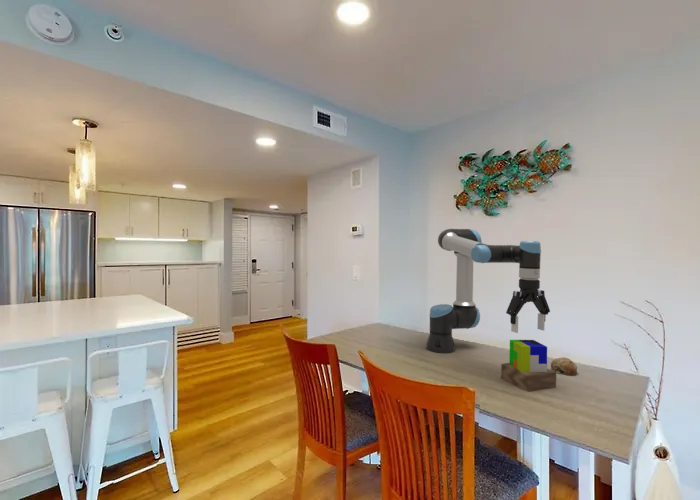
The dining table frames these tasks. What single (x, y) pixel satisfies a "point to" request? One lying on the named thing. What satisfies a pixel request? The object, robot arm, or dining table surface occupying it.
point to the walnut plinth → (528, 378)
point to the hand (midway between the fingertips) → (527, 330)
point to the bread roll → (564, 366)
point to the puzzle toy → (528, 355)
